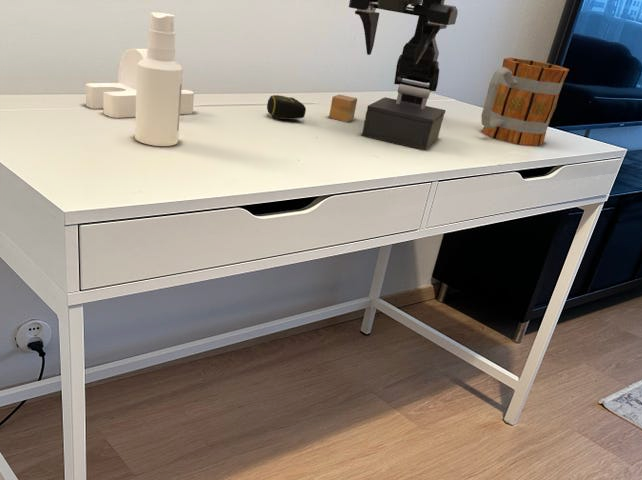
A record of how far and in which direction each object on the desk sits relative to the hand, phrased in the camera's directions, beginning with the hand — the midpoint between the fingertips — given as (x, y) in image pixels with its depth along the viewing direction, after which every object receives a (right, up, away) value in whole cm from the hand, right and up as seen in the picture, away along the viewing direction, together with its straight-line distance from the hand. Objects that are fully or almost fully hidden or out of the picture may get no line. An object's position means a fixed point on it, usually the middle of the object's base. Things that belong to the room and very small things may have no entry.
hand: (391, 59), depth 123 cm
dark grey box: (+3, -12, +7) cm, 14 cm away
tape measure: (-19, -8, +9) cm, 23 cm away
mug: (+29, -8, +21) cm, 36 cm away
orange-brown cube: (-7, -5, +15) cm, 18 cm away
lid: (+4, -8, +5) cm, 10 cm away
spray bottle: (-41, -22, -18) cm, 50 cm away
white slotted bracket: (-47, -10, -1) cm, 48 cm away
